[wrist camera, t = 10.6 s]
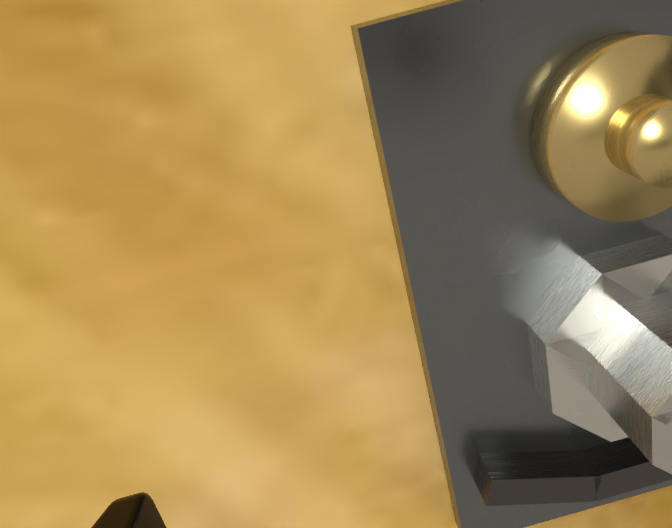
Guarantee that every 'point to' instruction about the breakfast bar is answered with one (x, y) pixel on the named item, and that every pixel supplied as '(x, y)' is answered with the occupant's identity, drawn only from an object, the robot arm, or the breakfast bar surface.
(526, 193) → the carrier
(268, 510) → the breakfast bar surface
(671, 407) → the octagonal pipe fitting
